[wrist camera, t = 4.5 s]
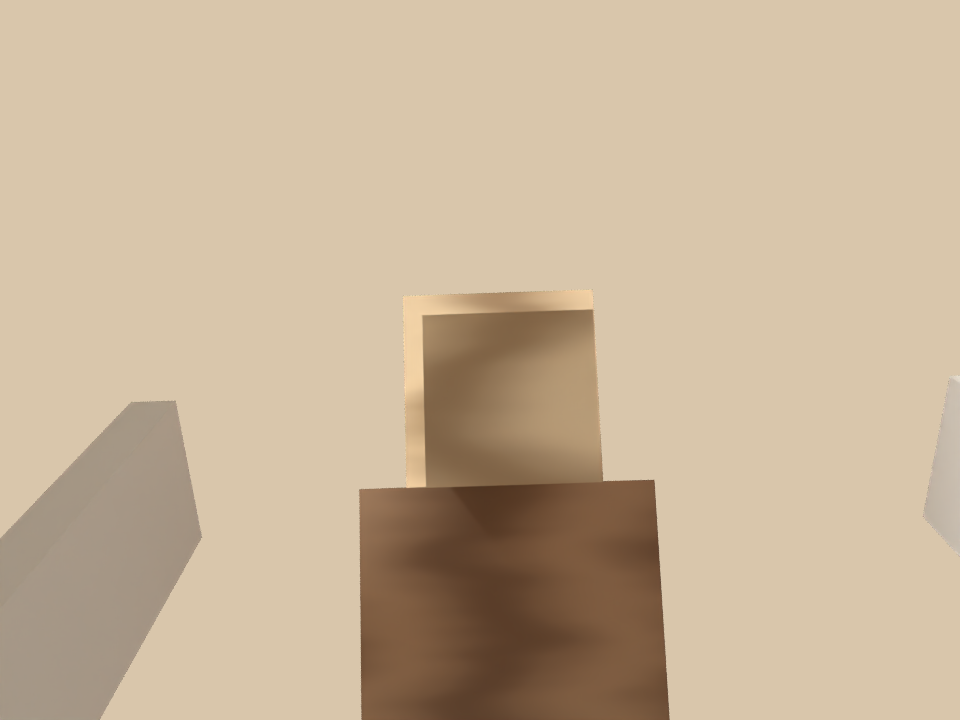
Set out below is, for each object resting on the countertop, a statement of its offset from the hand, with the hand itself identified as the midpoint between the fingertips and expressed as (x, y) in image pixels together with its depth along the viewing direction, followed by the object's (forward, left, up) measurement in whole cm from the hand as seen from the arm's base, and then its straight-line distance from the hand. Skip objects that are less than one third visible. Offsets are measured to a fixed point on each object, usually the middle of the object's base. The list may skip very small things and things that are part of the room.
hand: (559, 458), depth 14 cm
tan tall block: (-1, +11, 0) cm, 11 cm away
